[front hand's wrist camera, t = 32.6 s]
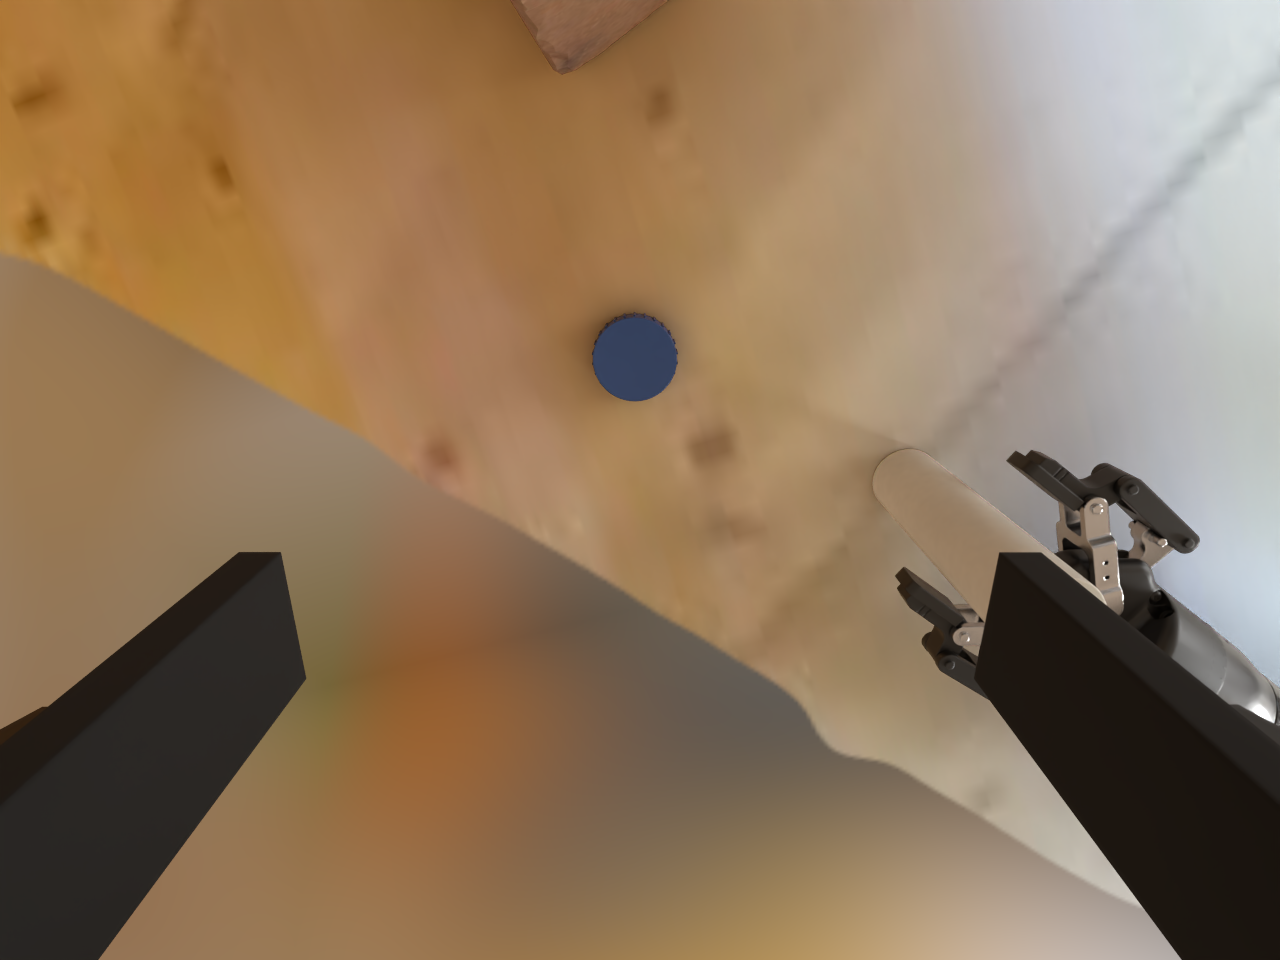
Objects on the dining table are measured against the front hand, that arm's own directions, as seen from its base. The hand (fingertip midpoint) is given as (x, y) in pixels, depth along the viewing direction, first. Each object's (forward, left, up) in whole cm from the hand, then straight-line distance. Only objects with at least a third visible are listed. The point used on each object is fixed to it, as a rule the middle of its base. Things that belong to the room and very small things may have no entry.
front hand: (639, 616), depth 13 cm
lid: (0, 0, -27) cm, 27 cm away
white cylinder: (+17, +6, -29) cm, 34 cm away
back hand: (+18, +7, -23) cm, 30 cm away
